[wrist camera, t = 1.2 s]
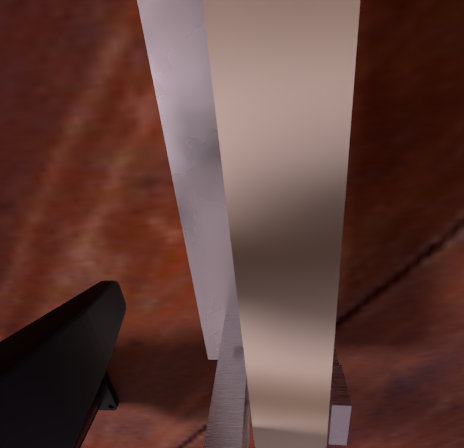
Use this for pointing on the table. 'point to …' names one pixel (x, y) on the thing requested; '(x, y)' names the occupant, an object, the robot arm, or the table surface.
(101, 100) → the table surface
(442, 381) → the table surface
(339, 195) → the rail
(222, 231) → the standards
